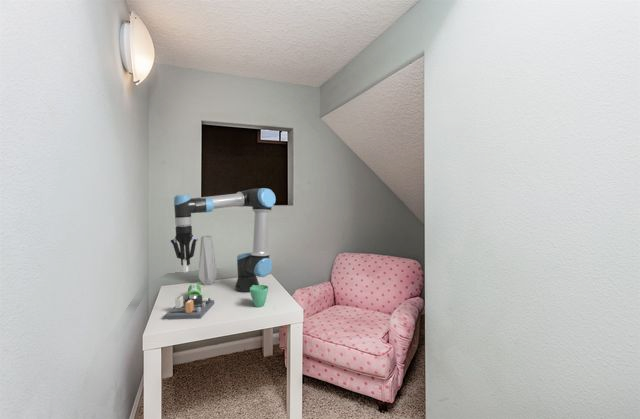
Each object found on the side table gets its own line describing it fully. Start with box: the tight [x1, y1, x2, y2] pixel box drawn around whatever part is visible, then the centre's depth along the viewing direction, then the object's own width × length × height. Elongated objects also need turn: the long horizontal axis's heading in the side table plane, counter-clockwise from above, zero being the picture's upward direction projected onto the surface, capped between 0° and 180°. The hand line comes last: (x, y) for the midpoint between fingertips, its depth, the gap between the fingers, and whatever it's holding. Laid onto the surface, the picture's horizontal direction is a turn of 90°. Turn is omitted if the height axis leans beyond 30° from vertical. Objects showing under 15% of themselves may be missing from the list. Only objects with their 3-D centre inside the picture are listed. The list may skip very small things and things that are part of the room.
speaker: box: [186, 283, 202, 298], centre depth 182 cm, size 18×7×8 cm, turn 22°
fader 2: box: [185, 300, 194, 313], centre depth 155 cm, size 2×4×5 cm, turn 1°
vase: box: [198, 235, 218, 286], centre depth 213 cm, size 12×12×33 cm
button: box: [189, 294, 198, 299], centre depth 169 cm, size 4×4×4 cm
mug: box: [249, 284, 269, 308], centre depth 170 cm, size 15×10×10 cm
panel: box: [163, 294, 215, 320], centre depth 162 cm, size 18×21×5 cm
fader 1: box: [174, 295, 184, 308], centre depth 162 cm, size 2×4×5 cm, turn 1°
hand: (186, 271), depth 157 cm, fingers closed
